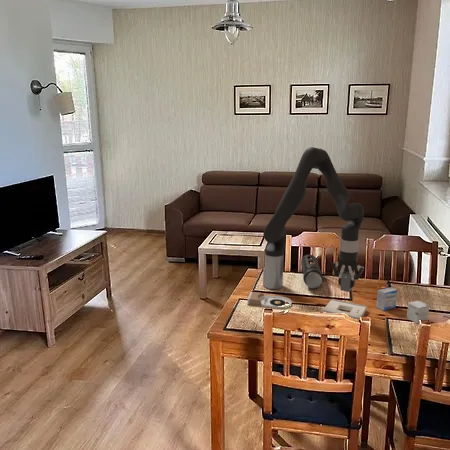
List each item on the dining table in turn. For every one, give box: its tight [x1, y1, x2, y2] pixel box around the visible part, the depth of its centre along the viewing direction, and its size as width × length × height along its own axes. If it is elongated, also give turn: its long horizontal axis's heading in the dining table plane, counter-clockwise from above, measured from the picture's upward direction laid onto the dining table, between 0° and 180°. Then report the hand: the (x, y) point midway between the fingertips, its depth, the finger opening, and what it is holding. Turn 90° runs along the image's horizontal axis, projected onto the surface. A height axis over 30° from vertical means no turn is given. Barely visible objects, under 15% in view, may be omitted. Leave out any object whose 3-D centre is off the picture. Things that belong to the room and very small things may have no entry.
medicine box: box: [376, 286, 398, 312], centre depth 204 cm, size 8×4×9 cm, turn 117°
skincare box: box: [406, 300, 430, 324], centre depth 193 cm, size 6×6×7 cm
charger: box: [340, 272, 353, 293], centre depth 196 cm, size 4×4×8 cm
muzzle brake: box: [300, 254, 324, 289], centre depth 237 cm, size 10×28×10 cm, turn 174°
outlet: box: [321, 298, 368, 320], centre depth 200 cm, size 16×14×2 cm
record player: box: [247, 291, 293, 309], centre depth 211 cm, size 12×3×20 cm
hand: (346, 286), depth 197 cm, fingers closed on charger, 4 cm apart
